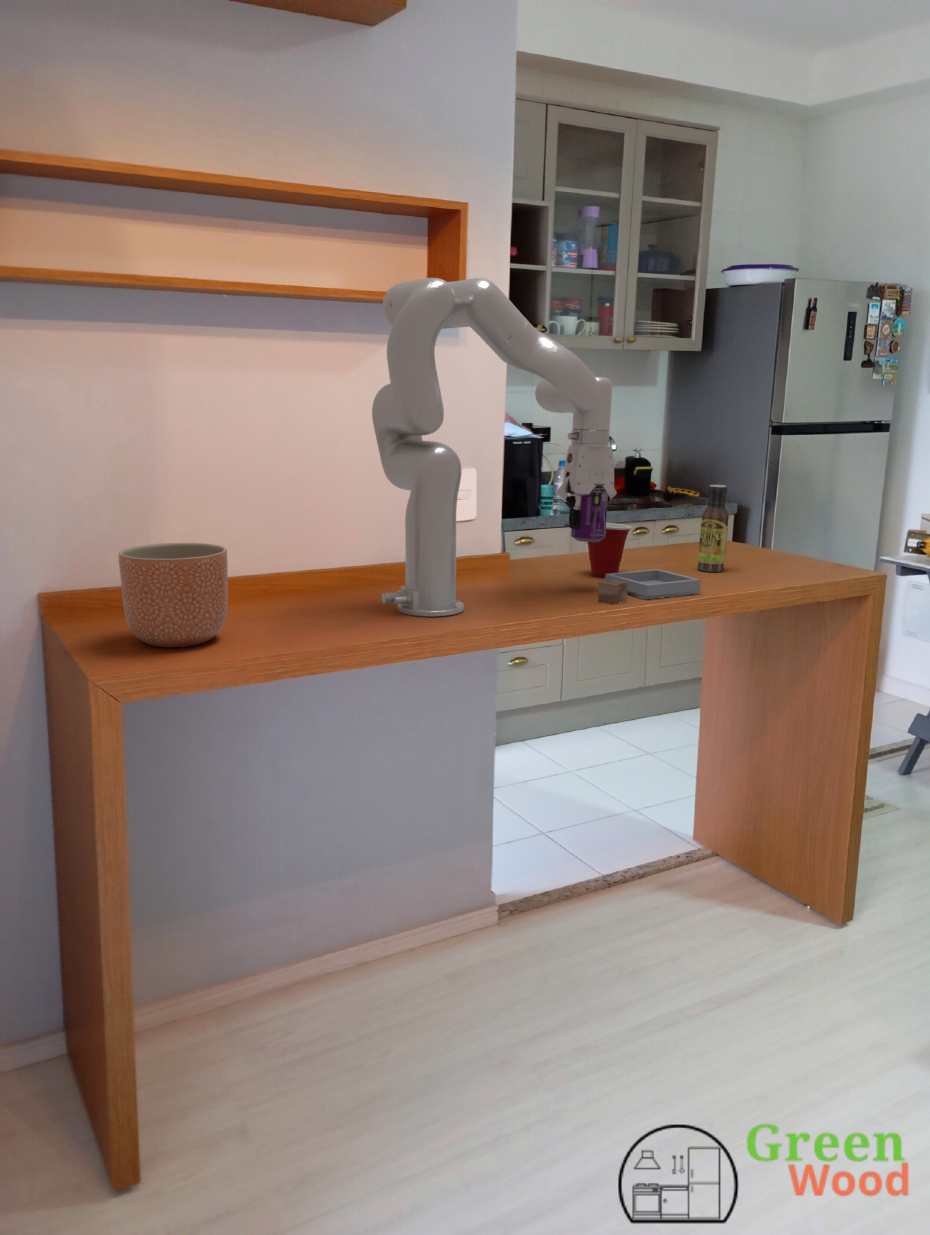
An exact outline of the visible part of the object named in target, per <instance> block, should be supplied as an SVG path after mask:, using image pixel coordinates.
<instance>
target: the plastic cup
mask: <svg viewBox="0 0 930 1235" xmlns="http://www.w3.org/2000/svg"><path fill="white" fill-rule="evenodd" d="M631 529H632V526H631V525H626V524H622V523H614V522H607V521H606V535H605V538H604V539H602V540H601V541H599V542H587V548H588V549H587V550H588V557H589V558H588V559H589V562H590V570H591V571H590V572H591V575H592V576H593V577H597V578H605V574H611V573H619V570H620V567H621V566H620V565H621V562H622V558H623V554H624V549H625V545H626V544H625V543H626V540H627V537H628V535H629V532H630V531H631Z"/></svg>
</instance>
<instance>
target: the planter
mask: <svg viewBox="0 0 930 1235" xmlns="http://www.w3.org/2000/svg"><path fill="white" fill-rule="evenodd" d="M118 566H119V575H120V577H119V578H120V584H121V585H120V586H121V595H122V603H123V609H124V615H125V619H126V623H127V626H128V627H129V629H130V631H131V633H132V634H133V636H136V638H137V639H139V640H140V641H142V642H144V643H145V644H147V645H149V646H153V647H161V648H184V647H192V646H197V645H200V644H204V643H206V642H208V641H210V640H211V639H213V638H214V637H215V636H216V635H218V633H220V631H222V628H223V627H224V625H225V623H226V621H227V616H228V615H227V613H228V606H229V604H228V603H229V602H228V601H229V599H228V596H229V593H228V592H229V586H228V585H229V584H228V583H229V582H228V581H229V580H228V570H229V569H228V549H227V548H226V547H225V546H223V545H220V544H219V545H218V544H212V543H202V542H201V543H200V542H165V543H151V544H143V545H136V546H131V547H127V548H124V549H122V550H120V551H118Z"/></svg>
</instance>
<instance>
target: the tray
mask: <svg viewBox="0 0 930 1235" xmlns="http://www.w3.org/2000/svg"><path fill="white" fill-rule="evenodd" d="M604 580H605V581H608V580H615V581H621V582H627V594H631V595H633V596H632V597H634V596H638V597H642V598H644V599H652V600H655V599H654V598H660V597H669V598H674V597H673V596H678V597H685V596H684V595H686V596H691V595H690V594H695V595H700V594H701V584H702V583H701V582H702V580H701V579H699V578H695V577H691V576H687V575H684V574H679V573H676V572H672V571H667V570H664V569H658V568H653V569H652V568H651V569H646V570H645V569H643V570H632V571H623V572H618V573H611V574H605V577H604ZM631 595H630V596H631ZM638 597H637V598H638ZM644 599H643V600H644Z"/></svg>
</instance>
